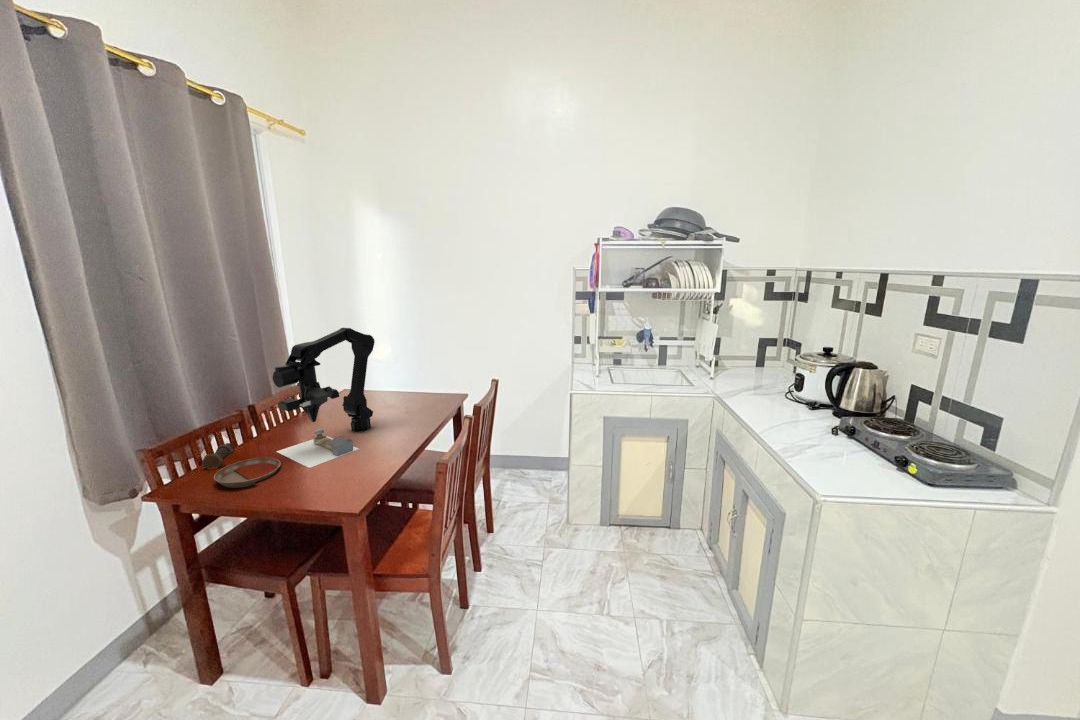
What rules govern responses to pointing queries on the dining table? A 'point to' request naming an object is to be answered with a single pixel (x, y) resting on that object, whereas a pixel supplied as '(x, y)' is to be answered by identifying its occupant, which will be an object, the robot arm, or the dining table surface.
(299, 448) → the base plate
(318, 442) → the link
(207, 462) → the bolt
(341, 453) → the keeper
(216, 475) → the plant saucer
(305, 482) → the dining table surface
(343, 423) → the dining table surface
